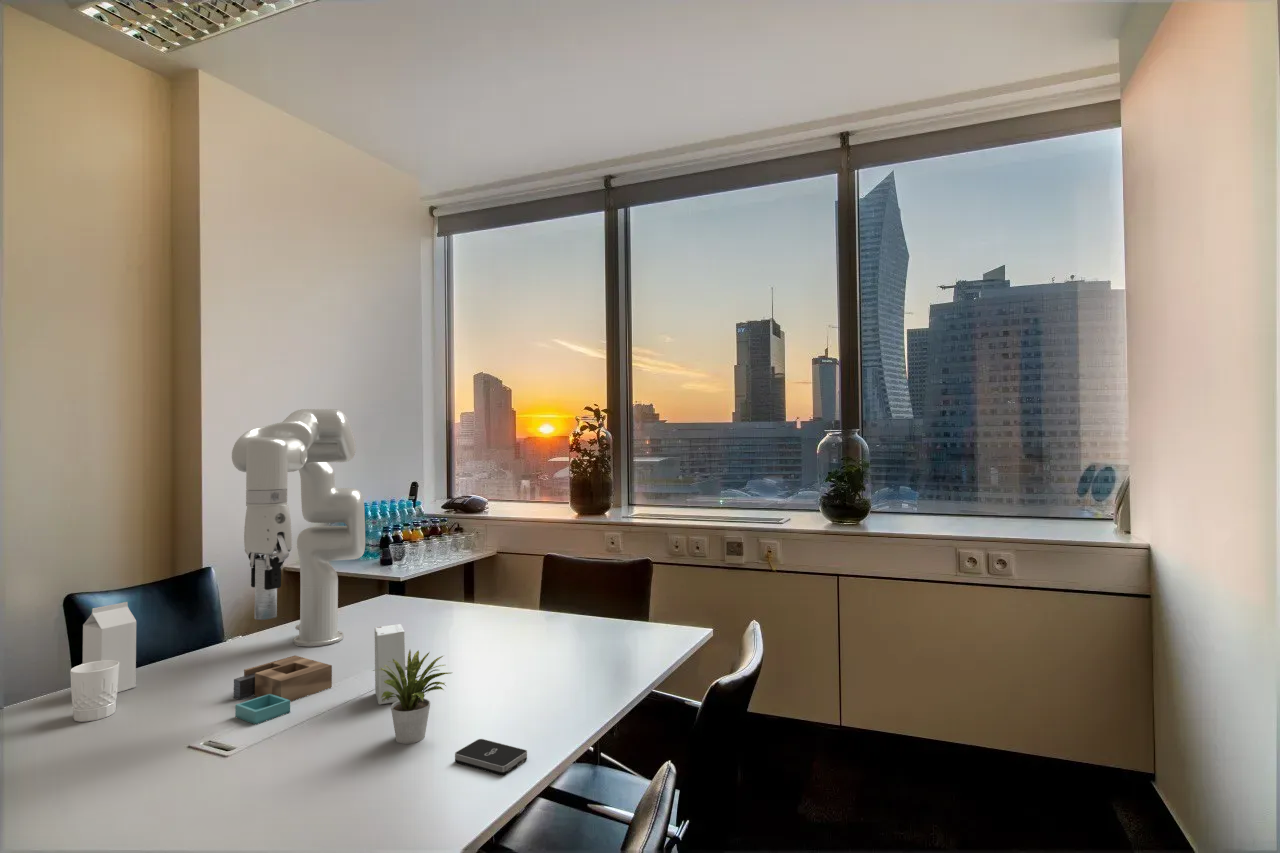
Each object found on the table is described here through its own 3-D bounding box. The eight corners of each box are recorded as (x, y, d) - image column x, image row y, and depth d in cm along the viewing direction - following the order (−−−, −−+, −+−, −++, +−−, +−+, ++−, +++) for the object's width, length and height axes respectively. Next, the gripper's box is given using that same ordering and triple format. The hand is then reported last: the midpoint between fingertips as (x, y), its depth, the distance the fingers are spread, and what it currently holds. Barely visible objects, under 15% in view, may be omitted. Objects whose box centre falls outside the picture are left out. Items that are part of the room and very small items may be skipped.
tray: (235, 717, 142) (235, 704, 142) (269, 705, 148) (270, 693, 148) (255, 724, 138) (255, 711, 138) (290, 712, 144) (290, 700, 144)
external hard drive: (503, 779, 117) (503, 767, 117) (452, 764, 122) (452, 753, 122) (528, 762, 123) (528, 750, 123) (479, 749, 128) (479, 738, 128)
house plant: (400, 765, 121) (401, 669, 121) (350, 746, 128) (350, 656, 128) (462, 735, 133) (462, 648, 133) (413, 719, 140) (413, 637, 140)
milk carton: (135, 687, 158) (136, 603, 159) (100, 698, 152) (101, 610, 152) (117, 683, 161) (118, 600, 162) (81, 693, 155) (82, 607, 155)
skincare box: (406, 701, 150) (406, 631, 150) (376, 706, 147) (376, 635, 148) (402, 688, 158) (402, 622, 158) (373, 692, 155) (373, 625, 155)
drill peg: (250, 618, 143) (251, 559, 144) (269, 613, 147) (270, 556, 147) (261, 620, 141) (262, 560, 141) (280, 616, 145) (281, 558, 145)
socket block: (243, 692, 155) (244, 669, 155) (294, 676, 166) (295, 655, 166) (280, 704, 148) (280, 681, 148) (331, 687, 158) (331, 665, 158)
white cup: (128, 710, 145) (128, 662, 145) (87, 725, 138) (87, 674, 138) (101, 706, 148) (102, 658, 148) (60, 720, 140) (60, 670, 140)
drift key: (233, 697, 152) (233, 679, 152) (269, 686, 159) (269, 668, 159) (239, 699, 151) (239, 681, 151) (275, 688, 158) (275, 670, 158)
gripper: (308, 498, 143) (307, 588, 143) (261, 495, 152) (260, 580, 152) (272, 501, 137) (271, 595, 137) (226, 497, 146) (225, 586, 145)
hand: (266, 586), depth 144 cm, fingers closed on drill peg, 4 cm apart
